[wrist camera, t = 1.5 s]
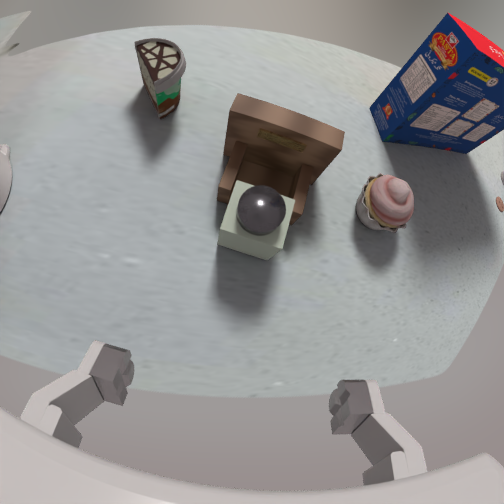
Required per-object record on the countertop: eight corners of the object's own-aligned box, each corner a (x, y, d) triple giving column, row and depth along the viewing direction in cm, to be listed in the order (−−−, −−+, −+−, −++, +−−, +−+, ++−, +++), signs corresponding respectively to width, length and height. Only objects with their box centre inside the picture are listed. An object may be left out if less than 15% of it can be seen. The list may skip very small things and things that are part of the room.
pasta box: (454, 125, 53) (525, 69, 26) (466, 153, 52) (544, 101, 25) (369, 107, 48) (447, 12, 21) (382, 141, 47) (477, 49, 20)
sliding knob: (217, 244, 38) (220, 223, 29) (230, 203, 40) (238, 172, 30) (267, 260, 39) (287, 245, 29) (278, 219, 40) (300, 193, 31)
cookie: (496, 194, 52) (499, 193, 51) (503, 206, 52) (506, 205, 51) (494, 202, 51) (496, 201, 50) (501, 215, 51) (503, 214, 50)
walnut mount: (204, 203, 40) (204, 167, 29) (229, 139, 42) (237, 93, 31) (299, 234, 41) (330, 210, 30) (315, 168, 43) (344, 131, 33)
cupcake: (388, 249, 43) (428, 235, 33) (340, 223, 42) (374, 201, 33) (399, 201, 45) (435, 180, 35) (355, 175, 44) (386, 146, 35)
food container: (198, 112, 42) (198, 70, 32) (162, 126, 41) (155, 84, 31) (173, 68, 43) (170, 28, 34) (141, 80, 42) (133, 40, 32)
